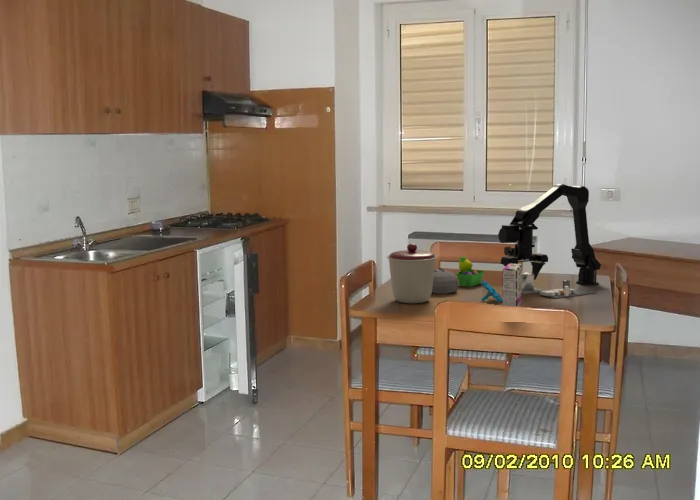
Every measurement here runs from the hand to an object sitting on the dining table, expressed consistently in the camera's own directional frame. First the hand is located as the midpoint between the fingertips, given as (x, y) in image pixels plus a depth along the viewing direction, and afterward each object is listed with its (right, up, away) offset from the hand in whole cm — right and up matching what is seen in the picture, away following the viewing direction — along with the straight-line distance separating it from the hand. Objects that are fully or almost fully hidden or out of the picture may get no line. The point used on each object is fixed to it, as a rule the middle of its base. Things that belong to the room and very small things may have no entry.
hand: (524, 281), depth 281 cm
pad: (0, -3, 0) cm, 3 cm away
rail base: (+14, -4, -8) cm, 17 cm away
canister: (-45, -7, -17) cm, 48 cm away
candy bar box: (-14, -10, -41) cm, 44 cm away
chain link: (0, -3, 0) cm, 3 cm away
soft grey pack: (-33, -4, +3) cm, 33 cm away
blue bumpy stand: (-16, -7, -19) cm, 26 cm away
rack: (+10, -4, -11) cm, 15 cm away
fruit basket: (-19, -2, +14) cm, 24 cm away
